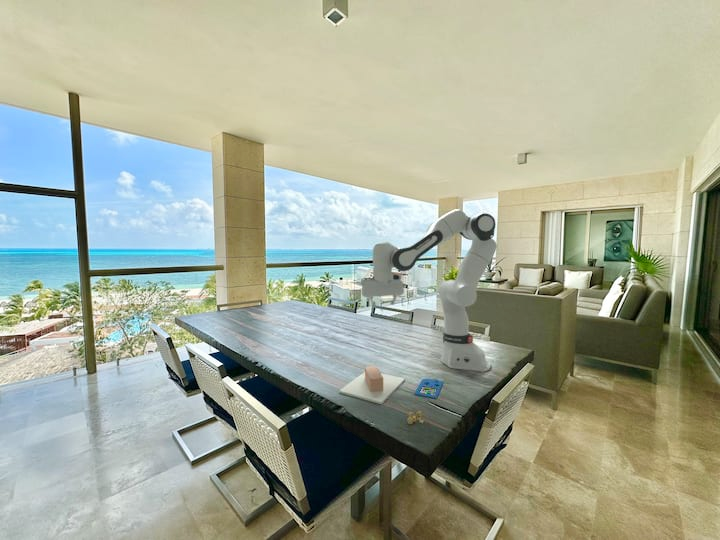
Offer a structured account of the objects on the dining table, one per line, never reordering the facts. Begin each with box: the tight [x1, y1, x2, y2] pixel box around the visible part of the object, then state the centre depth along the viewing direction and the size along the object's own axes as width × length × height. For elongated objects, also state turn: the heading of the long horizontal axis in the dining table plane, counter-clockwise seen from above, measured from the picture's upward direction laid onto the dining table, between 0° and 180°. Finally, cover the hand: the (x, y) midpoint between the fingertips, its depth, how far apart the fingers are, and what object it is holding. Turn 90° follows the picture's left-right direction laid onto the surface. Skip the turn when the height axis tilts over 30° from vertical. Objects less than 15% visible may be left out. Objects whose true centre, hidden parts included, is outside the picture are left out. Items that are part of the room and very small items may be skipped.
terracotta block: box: [364, 365, 383, 392], centre depth 117 cm, size 5×5×12 cm
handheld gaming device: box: [413, 378, 444, 400], centre depth 115 cm, size 8×1×15 cm
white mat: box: [338, 371, 406, 405], centre depth 117 cm, size 18×22×1 cm
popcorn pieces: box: [407, 411, 425, 425], centre depth 94 cm, size 5×5×2 cm
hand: (383, 305), depth 141 cm, fingers open, 8 cm apart
